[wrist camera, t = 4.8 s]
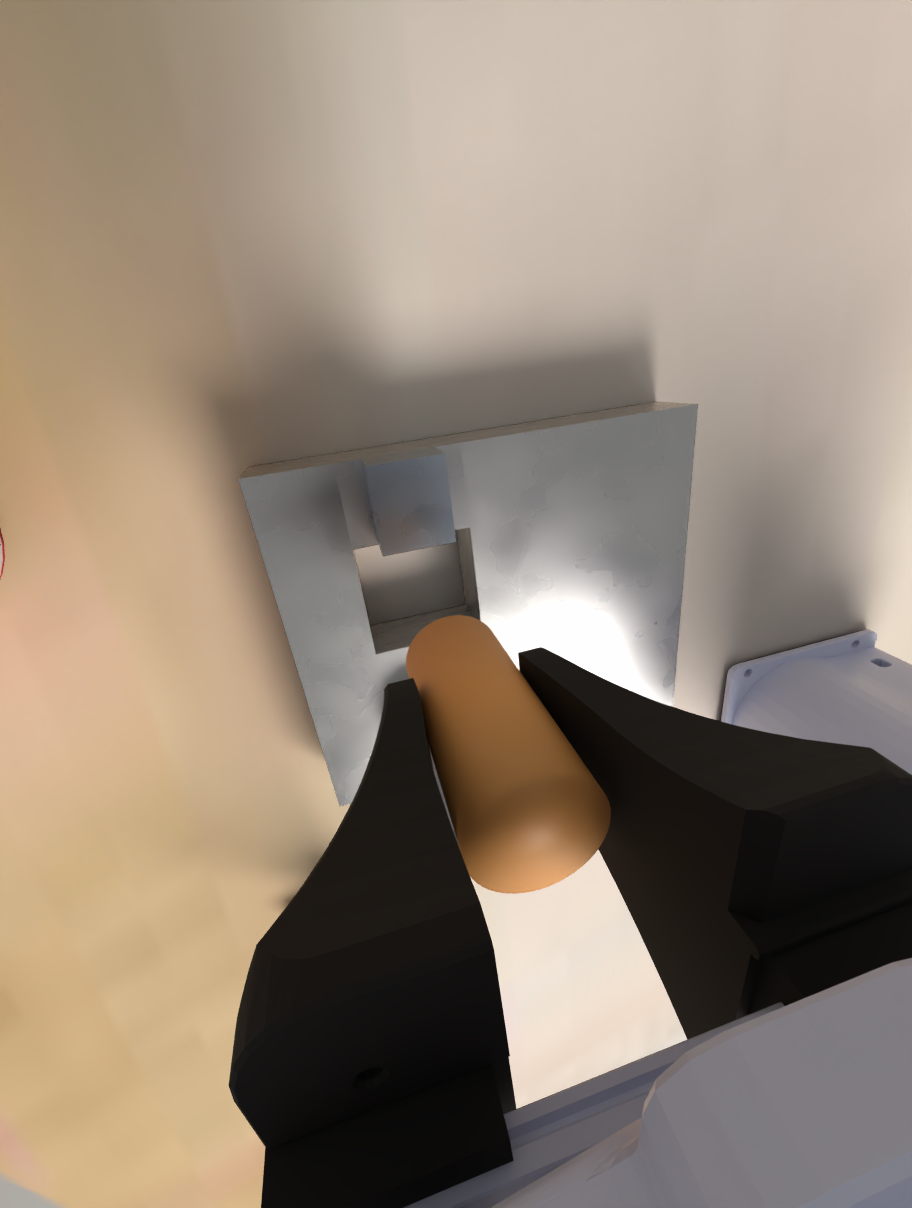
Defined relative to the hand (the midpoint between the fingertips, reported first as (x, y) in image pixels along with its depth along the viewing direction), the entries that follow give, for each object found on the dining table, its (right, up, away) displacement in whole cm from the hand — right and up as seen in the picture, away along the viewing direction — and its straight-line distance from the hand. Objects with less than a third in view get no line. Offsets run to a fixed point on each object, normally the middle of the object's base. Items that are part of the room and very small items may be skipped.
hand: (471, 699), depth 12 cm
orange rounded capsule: (0, +1, +1) cm, 2 cm away
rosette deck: (+1, +3, +10) cm, 10 cm away
